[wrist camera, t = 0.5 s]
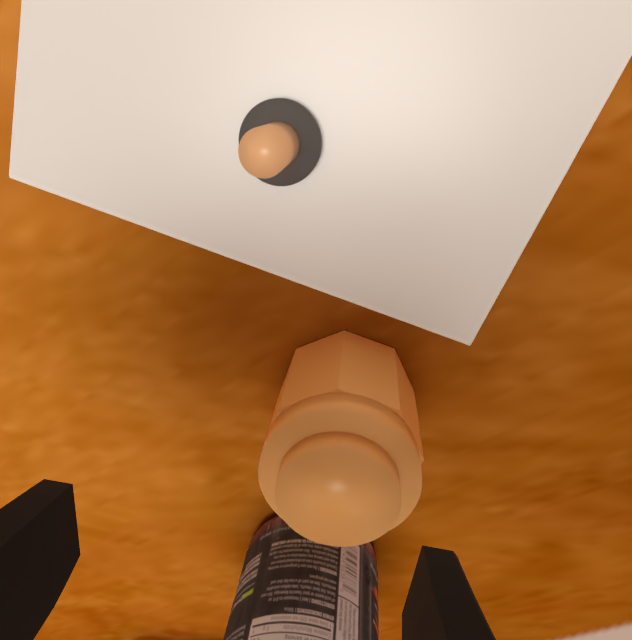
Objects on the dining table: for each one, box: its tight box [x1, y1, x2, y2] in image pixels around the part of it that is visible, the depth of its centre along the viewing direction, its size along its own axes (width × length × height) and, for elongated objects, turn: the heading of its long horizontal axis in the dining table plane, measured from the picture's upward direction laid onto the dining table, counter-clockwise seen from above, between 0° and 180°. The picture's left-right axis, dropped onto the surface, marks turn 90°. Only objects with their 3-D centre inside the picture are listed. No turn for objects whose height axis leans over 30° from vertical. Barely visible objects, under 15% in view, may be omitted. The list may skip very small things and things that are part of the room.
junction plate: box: [9, 0, 632, 346], centre depth 13 cm, size 16×14×4 cm
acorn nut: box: [258, 330, 424, 547], centre depth 17 cm, size 5×5×6 cm
